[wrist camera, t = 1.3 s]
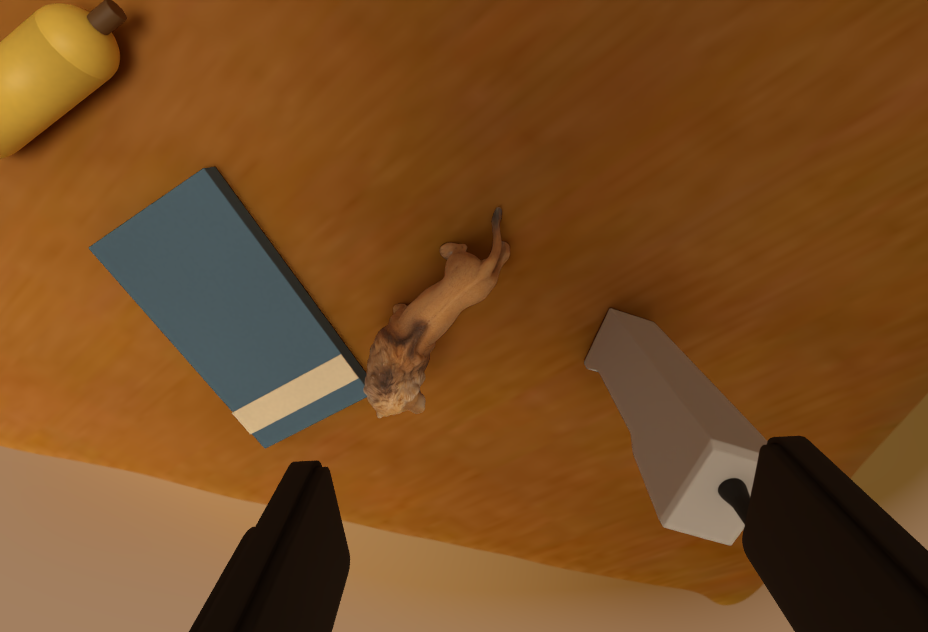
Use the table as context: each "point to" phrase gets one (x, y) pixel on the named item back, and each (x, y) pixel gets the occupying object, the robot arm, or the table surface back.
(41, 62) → the yellow shampoo bottle
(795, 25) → the table surface
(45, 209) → the table surface
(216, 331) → the towel
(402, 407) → the lion figurine
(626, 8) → the table surface
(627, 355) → the vintage mobile phone
